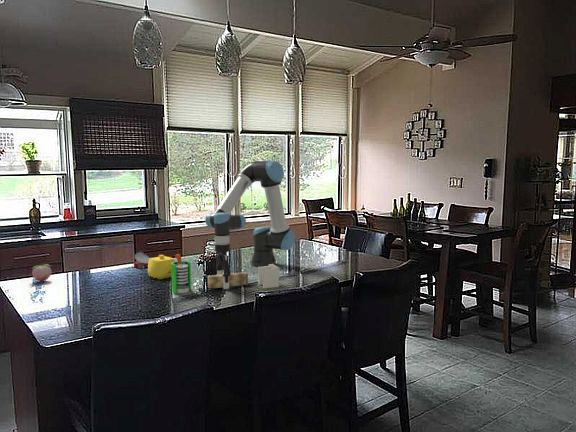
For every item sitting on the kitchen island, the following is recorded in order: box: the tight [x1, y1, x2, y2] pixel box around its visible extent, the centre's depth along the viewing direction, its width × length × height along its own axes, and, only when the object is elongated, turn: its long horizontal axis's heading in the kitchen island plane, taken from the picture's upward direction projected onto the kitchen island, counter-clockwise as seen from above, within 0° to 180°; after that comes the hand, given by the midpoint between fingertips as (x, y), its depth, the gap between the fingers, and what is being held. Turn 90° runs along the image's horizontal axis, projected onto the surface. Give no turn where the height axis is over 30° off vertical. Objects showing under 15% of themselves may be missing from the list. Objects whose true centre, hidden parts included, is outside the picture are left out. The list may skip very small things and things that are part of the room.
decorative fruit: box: [31, 263, 52, 282], centre depth 253 cm, size 9×8×10 cm
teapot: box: [147, 254, 176, 280], centre depth 263 cm, size 20×12×12 cm, turn 46°
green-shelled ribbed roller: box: [171, 253, 192, 294], centre depth 232 cm, size 9×8×18 cm
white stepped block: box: [257, 264, 280, 289], centre depth 242 cm, size 9×8×10 cm
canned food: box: [133, 251, 150, 269], centre depth 288 cm, size 11×10×10 cm
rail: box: [207, 271, 249, 289], centre depth 243 cm, size 20×4×6 cm, turn 112°
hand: (223, 285), depth 242 cm, fingers open, 12 cm apart
